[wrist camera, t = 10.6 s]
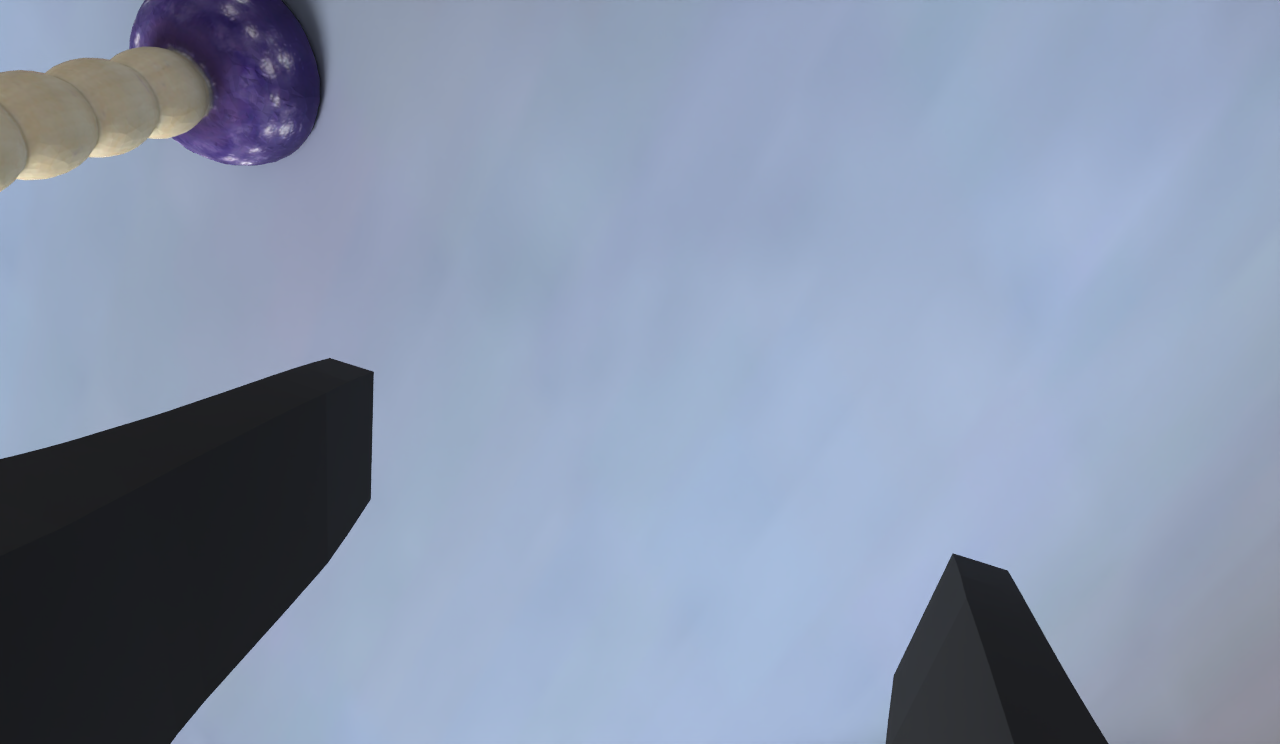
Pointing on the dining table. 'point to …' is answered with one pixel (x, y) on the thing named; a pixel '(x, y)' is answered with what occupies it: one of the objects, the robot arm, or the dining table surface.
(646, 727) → the dining table surface
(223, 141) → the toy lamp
